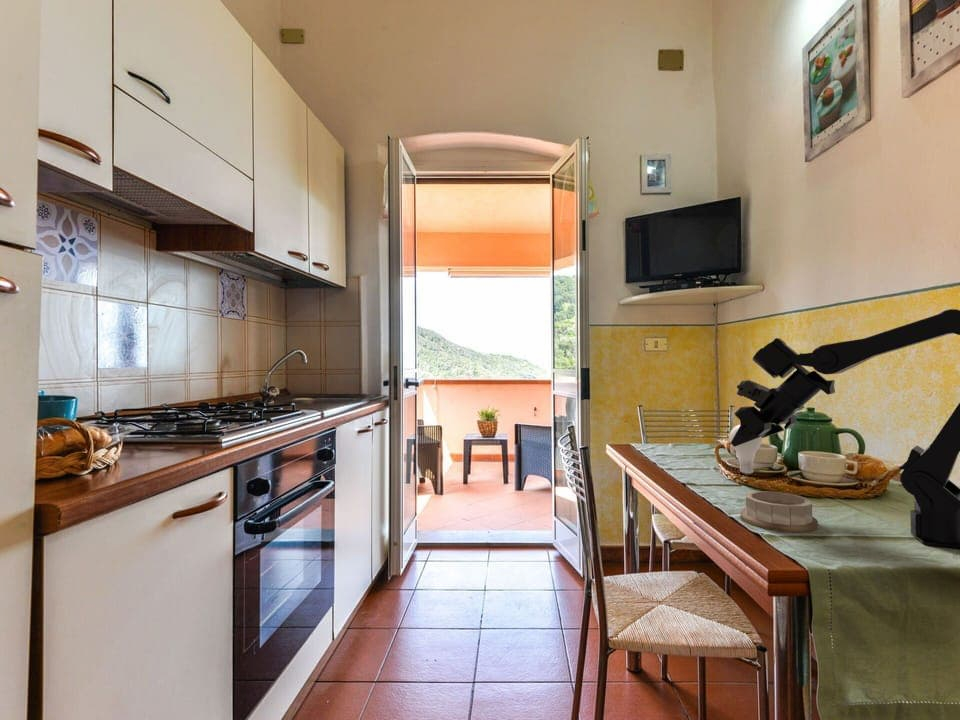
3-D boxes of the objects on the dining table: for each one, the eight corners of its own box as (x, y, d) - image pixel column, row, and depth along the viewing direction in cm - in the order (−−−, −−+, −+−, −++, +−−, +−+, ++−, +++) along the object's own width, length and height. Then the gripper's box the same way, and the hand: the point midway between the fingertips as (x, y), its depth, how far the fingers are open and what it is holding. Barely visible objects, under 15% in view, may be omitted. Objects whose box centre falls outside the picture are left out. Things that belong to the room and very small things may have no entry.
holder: (811, 516, 101) (811, 493, 101) (824, 536, 89) (823, 510, 89) (739, 508, 106) (738, 487, 106) (742, 526, 95) (741, 503, 95)
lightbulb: (724, 473, 111) (722, 423, 111) (743, 470, 114) (741, 421, 114) (750, 478, 105) (748, 426, 105) (769, 475, 108) (767, 424, 108)
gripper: (778, 366, 113) (730, 413, 121) (743, 367, 101) (692, 419, 109) (820, 402, 107) (766, 449, 115) (788, 407, 95) (730, 459, 103)
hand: (739, 443), depth 110 cm, fingers closed on lightbulb, 6 cm apart
